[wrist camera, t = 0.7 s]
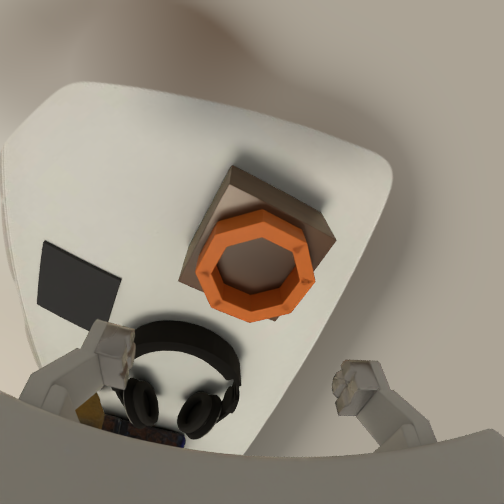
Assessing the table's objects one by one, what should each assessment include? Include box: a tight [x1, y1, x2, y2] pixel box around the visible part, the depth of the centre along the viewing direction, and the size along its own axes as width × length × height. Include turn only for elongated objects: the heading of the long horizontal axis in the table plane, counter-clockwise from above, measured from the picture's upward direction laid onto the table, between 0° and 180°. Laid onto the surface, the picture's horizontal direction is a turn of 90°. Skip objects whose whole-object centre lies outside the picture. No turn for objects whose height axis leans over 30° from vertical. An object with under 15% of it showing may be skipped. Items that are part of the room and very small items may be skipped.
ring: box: [195, 209, 315, 323], centre depth 25 cm, size 9×9×2 cm
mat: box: [37, 241, 121, 331], centre depth 35 cm, size 11×11×1 cm
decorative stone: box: [75, 392, 105, 430], centre depth 38 cm, size 10×6×15 cm, turn 84°
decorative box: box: [102, 414, 185, 448], centre depth 48 cm, size 31×20×20 cm
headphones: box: [111, 321, 241, 439], centre depth 39 cm, size 18×8×20 cm
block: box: [178, 165, 336, 321], centre depth 29 cm, size 10×10×6 cm
